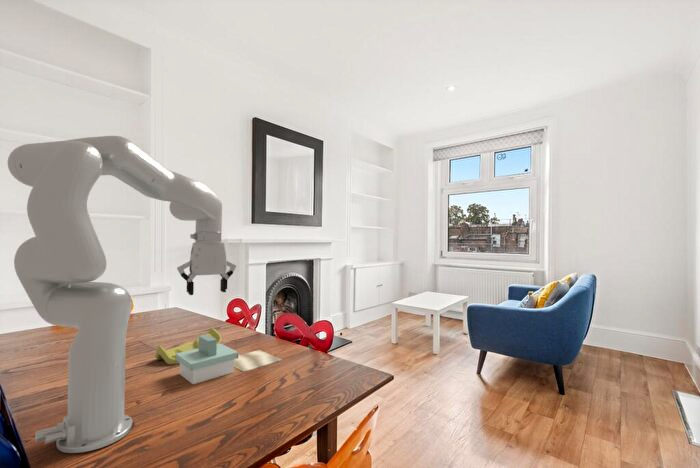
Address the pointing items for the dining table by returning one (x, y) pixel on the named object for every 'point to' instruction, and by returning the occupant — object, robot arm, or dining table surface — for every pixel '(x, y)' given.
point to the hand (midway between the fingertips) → (207, 293)
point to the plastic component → (183, 348)
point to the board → (254, 360)
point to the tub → (207, 372)
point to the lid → (206, 354)
